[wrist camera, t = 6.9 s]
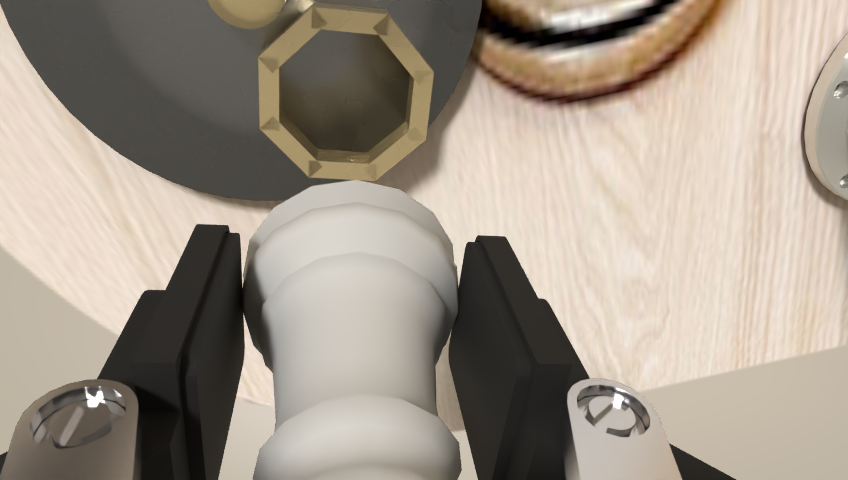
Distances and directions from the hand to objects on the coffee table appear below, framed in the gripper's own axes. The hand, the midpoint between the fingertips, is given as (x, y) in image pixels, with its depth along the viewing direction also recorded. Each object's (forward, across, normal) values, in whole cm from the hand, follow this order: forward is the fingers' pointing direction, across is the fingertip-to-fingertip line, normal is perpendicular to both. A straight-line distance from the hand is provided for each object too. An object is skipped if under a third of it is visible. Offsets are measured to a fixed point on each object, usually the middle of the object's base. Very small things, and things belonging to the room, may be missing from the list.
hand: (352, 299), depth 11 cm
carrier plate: (+18, +4, -4) cm, 19 cm away
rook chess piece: (+2, 0, 0) cm, 2 cm away
